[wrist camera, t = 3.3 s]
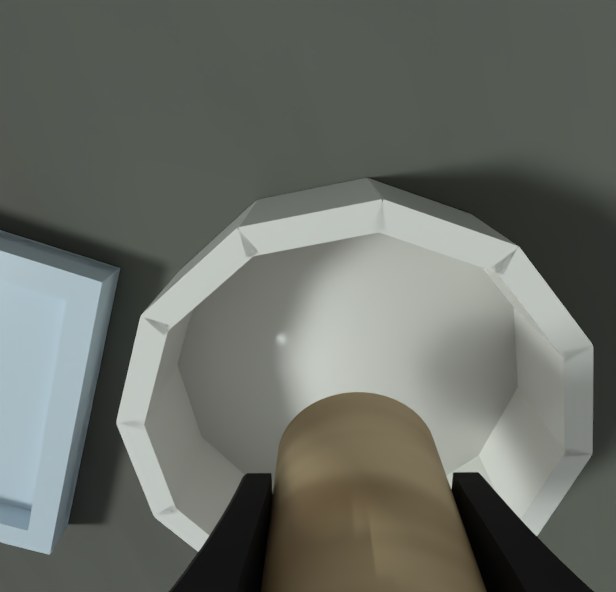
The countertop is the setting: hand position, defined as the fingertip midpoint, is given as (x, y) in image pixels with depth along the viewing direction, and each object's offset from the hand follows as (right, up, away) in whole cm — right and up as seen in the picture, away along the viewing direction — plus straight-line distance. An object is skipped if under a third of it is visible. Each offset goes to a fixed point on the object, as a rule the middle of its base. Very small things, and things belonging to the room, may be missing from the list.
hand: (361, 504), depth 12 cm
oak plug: (0, +1, +2) cm, 2 cm away
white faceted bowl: (0, +2, +6) cm, 7 cm away
